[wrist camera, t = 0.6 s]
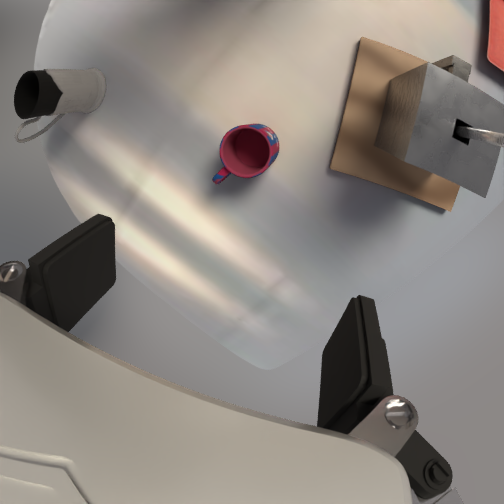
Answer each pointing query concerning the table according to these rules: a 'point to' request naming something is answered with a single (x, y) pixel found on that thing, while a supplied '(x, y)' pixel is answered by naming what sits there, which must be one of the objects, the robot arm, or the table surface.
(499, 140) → the plunger
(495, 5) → the plant saucer
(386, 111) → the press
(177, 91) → the table surface
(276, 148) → the mug
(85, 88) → the grey and black pitcher
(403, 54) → the board
